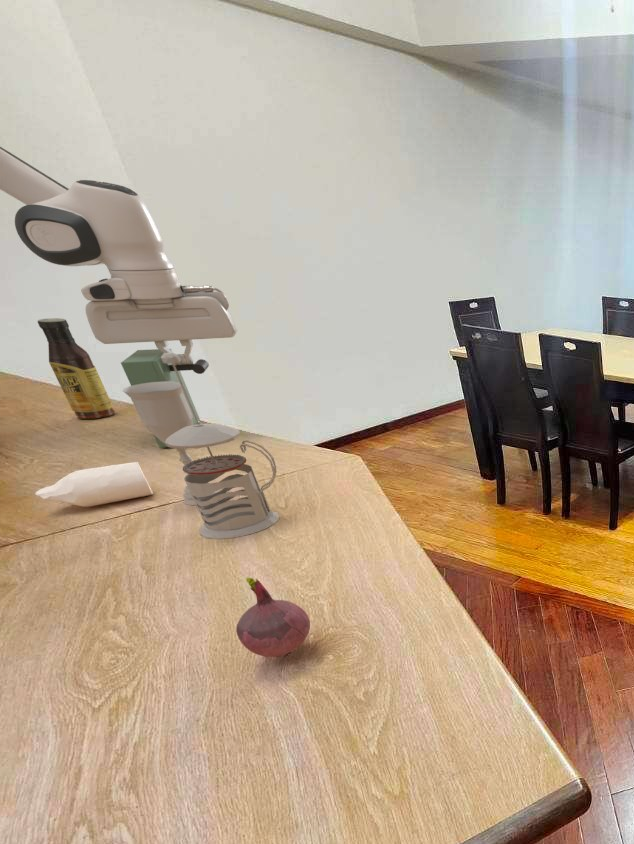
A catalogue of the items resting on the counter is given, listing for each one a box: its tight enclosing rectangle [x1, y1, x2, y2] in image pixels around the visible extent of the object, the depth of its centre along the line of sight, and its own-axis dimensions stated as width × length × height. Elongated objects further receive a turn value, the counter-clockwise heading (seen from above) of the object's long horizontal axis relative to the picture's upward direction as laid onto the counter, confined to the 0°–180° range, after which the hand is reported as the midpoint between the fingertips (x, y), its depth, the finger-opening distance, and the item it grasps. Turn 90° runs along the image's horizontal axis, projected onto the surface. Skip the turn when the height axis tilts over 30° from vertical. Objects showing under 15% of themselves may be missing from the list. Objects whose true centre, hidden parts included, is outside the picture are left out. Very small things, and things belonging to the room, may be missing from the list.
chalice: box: [122, 382, 220, 506], centre depth 91 cm, size 7×7×18 cm
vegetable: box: [235, 577, 311, 658], centre depth 61 cm, size 6×6×10 cm
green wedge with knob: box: [120, 348, 210, 449], centre depth 116 cm, size 16×12×10 cm
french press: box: [161, 352, 280, 540], centre depth 83 cm, size 10×12×25 cm
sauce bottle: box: [37, 317, 115, 420], centre depth 123 cm, size 7×6×20 cm
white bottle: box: [34, 461, 154, 508], centre depth 91 cm, size 6×12×6 cm, turn 136°
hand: (183, 364), depth 114 cm, fingers closed, pressing on green wedge with knob
